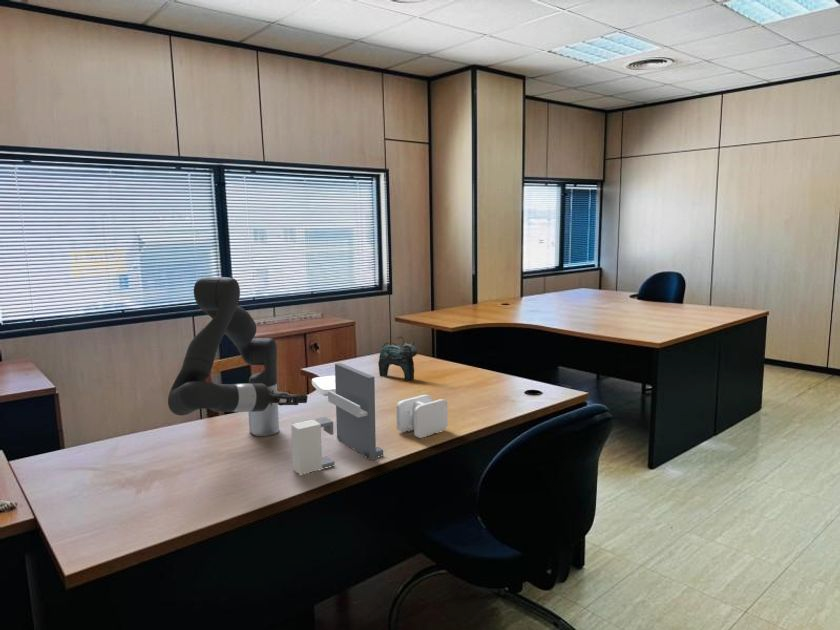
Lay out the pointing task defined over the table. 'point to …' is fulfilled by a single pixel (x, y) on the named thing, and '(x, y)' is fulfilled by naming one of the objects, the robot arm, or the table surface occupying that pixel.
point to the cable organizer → (422, 415)
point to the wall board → (355, 409)
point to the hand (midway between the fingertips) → (297, 396)
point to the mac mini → (324, 384)
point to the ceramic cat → (398, 359)
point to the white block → (310, 445)
